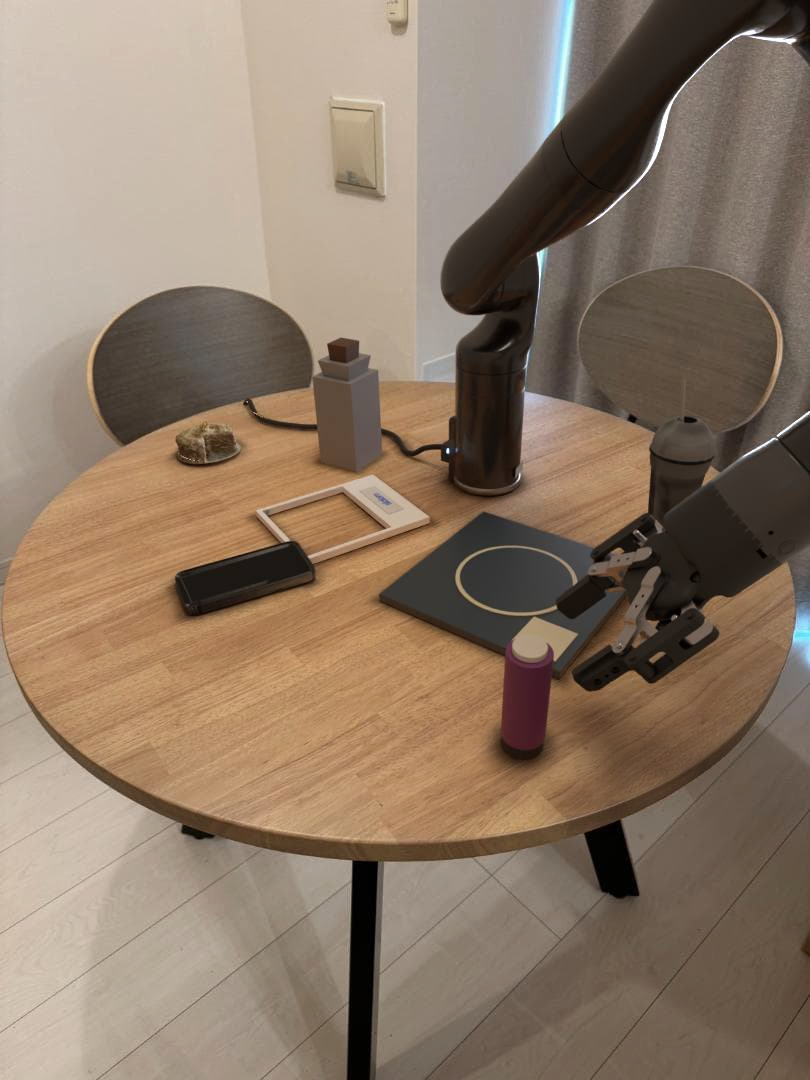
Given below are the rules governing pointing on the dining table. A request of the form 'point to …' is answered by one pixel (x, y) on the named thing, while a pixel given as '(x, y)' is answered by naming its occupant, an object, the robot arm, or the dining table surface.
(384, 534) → the photo frame
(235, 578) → the phone
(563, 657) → the slate board
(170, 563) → the dining table surface
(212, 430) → the cake
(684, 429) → the beverage cup
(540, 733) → the dot marker
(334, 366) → the perfume bottle
